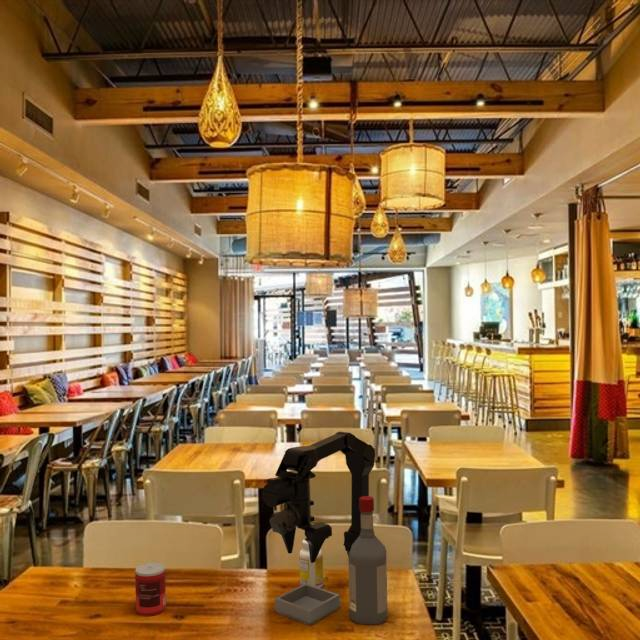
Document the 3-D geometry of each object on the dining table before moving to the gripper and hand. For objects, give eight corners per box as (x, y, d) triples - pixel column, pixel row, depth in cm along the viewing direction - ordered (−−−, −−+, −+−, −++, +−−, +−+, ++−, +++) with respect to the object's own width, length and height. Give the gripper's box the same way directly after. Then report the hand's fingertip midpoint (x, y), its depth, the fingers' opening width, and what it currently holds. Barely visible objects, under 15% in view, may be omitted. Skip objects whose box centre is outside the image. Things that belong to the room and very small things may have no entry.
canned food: (156, 600, 171) (155, 560, 171) (171, 609, 166) (171, 567, 166) (130, 609, 166) (129, 568, 166) (145, 619, 160) (144, 576, 160)
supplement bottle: (323, 580, 182) (322, 536, 182) (323, 590, 176) (323, 544, 176) (299, 581, 182) (299, 537, 182) (299, 591, 175) (299, 545, 175)
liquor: (388, 609, 163) (385, 493, 163) (385, 626, 154) (383, 503, 154) (353, 607, 165) (350, 492, 165) (348, 623, 156) (346, 502, 156)
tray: (305, 596, 172) (305, 583, 172) (340, 608, 165) (339, 594, 165) (275, 612, 163) (274, 598, 163) (310, 625, 155) (309, 611, 155)
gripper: (252, 497, 164) (254, 556, 164) (298, 512, 150) (300, 577, 150) (286, 488, 172) (287, 545, 172) (332, 502, 158) (334, 564, 158)
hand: (301, 557), depth 163 cm, fingers open, 9 cm apart
